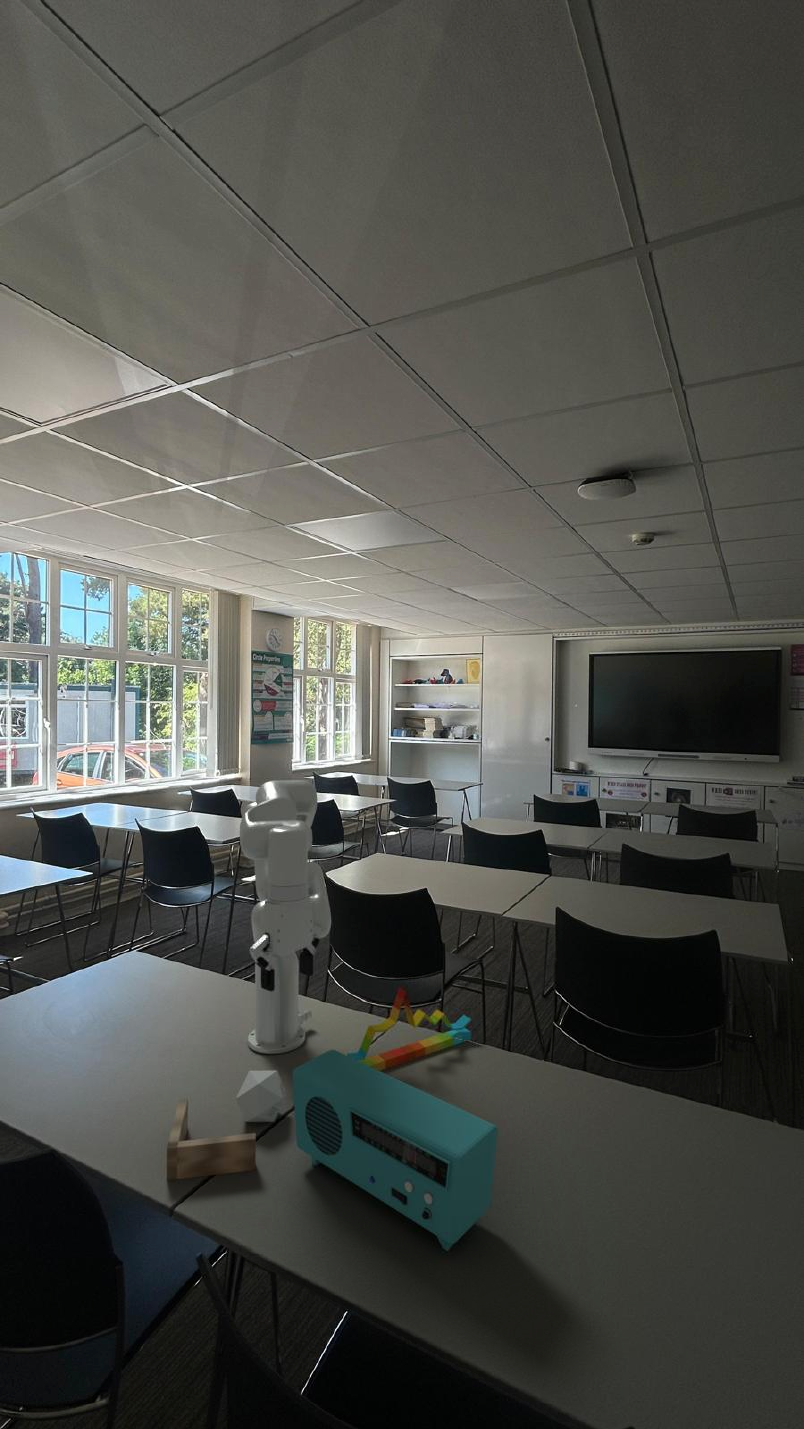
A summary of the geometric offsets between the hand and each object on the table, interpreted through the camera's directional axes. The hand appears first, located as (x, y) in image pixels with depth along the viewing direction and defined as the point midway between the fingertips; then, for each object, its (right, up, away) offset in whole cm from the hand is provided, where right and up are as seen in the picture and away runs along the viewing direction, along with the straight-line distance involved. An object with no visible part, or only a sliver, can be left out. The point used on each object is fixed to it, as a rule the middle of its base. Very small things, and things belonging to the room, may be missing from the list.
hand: (287, 981), depth 128 cm
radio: (+19, -22, -26) cm, 39 cm away
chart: (+24, -22, +15) cm, 36 cm away
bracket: (-12, -22, -19) cm, 31 cm away
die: (-3, -22, -7) cm, 23 cm away
